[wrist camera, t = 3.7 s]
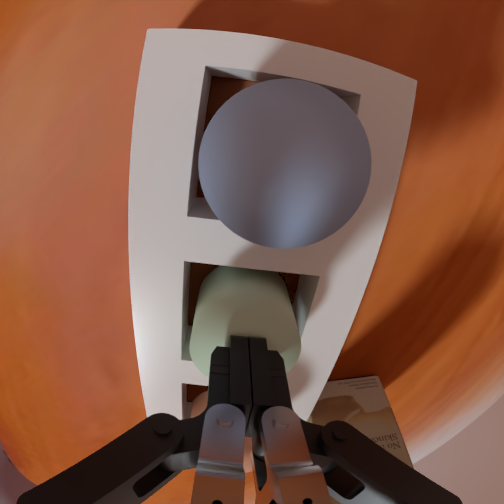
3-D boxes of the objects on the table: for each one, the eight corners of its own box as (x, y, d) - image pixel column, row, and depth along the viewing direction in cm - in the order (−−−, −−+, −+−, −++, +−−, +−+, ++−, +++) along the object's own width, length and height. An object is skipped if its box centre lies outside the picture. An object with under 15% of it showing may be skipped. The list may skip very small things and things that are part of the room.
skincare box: (378, 372, 21) (433, 504, 10) (365, 404, 23) (405, 522, 12) (300, 382, 21) (331, 536, 10) (294, 414, 23) (317, 546, 12)
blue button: (340, 104, 11) (385, 102, 7) (318, 215, 13) (349, 257, 9) (219, 83, 10) (210, 66, 7) (204, 200, 12) (190, 238, 9)
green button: (296, 265, 15) (314, 312, 12) (278, 337, 17) (287, 389, 14) (201, 254, 15) (191, 301, 11) (196, 329, 17) (188, 382, 13)
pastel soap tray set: (386, 84, 12) (417, 80, 10) (288, 417, 23) (292, 446, 20) (164, 44, 11) (147, 28, 9) (156, 407, 22) (151, 436, 19)
